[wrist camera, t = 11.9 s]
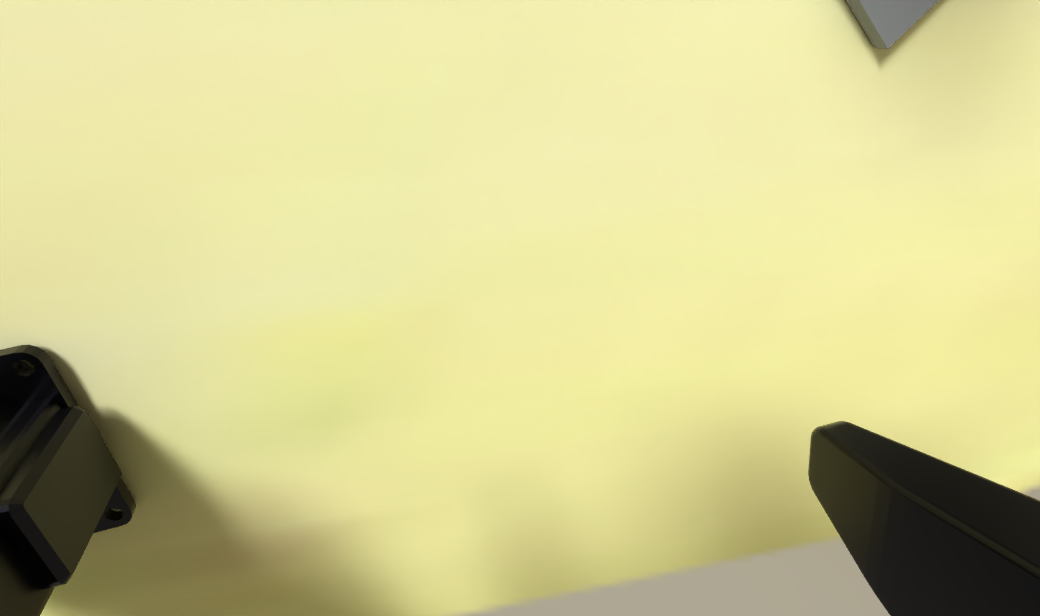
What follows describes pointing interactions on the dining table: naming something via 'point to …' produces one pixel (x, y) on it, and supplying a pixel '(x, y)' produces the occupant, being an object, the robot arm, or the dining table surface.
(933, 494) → the robot arm
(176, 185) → the dining table surface
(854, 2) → the rubber mat
